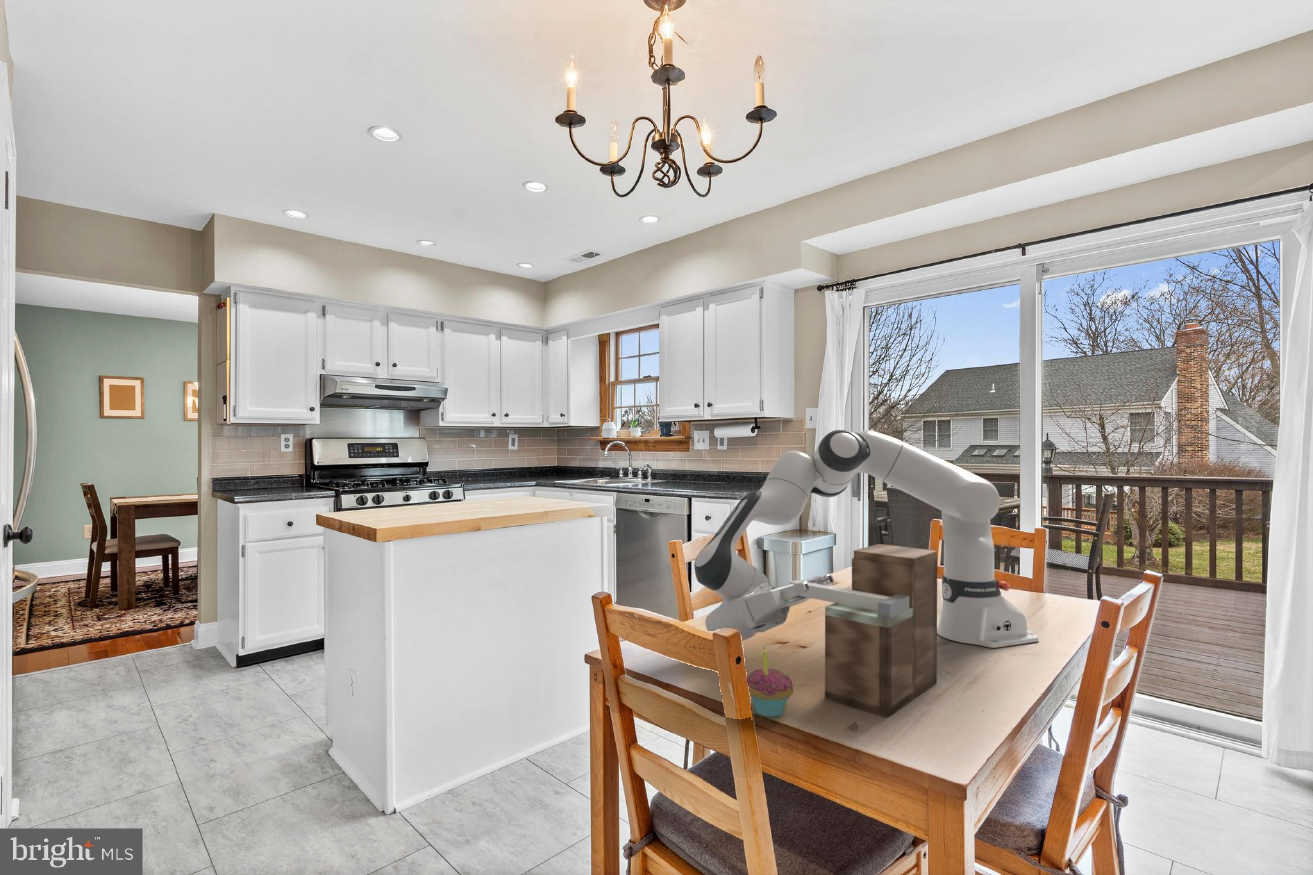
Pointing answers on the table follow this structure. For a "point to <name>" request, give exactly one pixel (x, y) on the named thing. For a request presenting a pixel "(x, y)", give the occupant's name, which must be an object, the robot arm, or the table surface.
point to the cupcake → (769, 690)
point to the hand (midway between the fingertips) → (818, 581)
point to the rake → (858, 599)
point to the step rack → (884, 633)
